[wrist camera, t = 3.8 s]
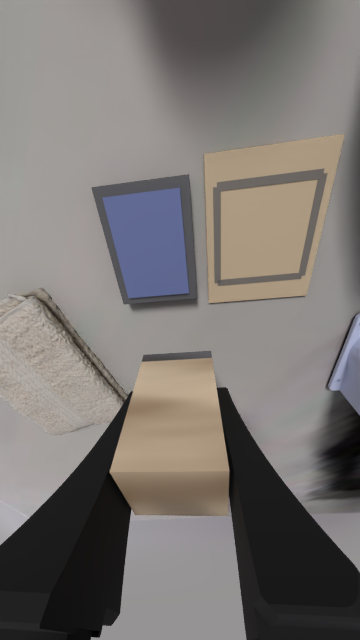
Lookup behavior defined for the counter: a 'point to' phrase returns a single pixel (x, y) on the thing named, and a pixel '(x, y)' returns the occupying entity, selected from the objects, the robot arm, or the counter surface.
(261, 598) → the robot arm
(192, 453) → the light wooden block
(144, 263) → the ink pad
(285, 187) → the kraft card
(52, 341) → the washcloth
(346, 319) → the counter surface
